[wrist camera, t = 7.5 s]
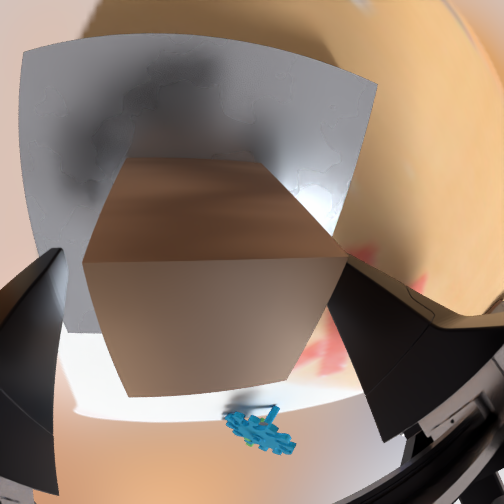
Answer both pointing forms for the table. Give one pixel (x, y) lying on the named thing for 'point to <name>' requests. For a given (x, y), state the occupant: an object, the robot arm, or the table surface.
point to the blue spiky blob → (261, 432)
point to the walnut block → (206, 275)
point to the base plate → (176, 128)
